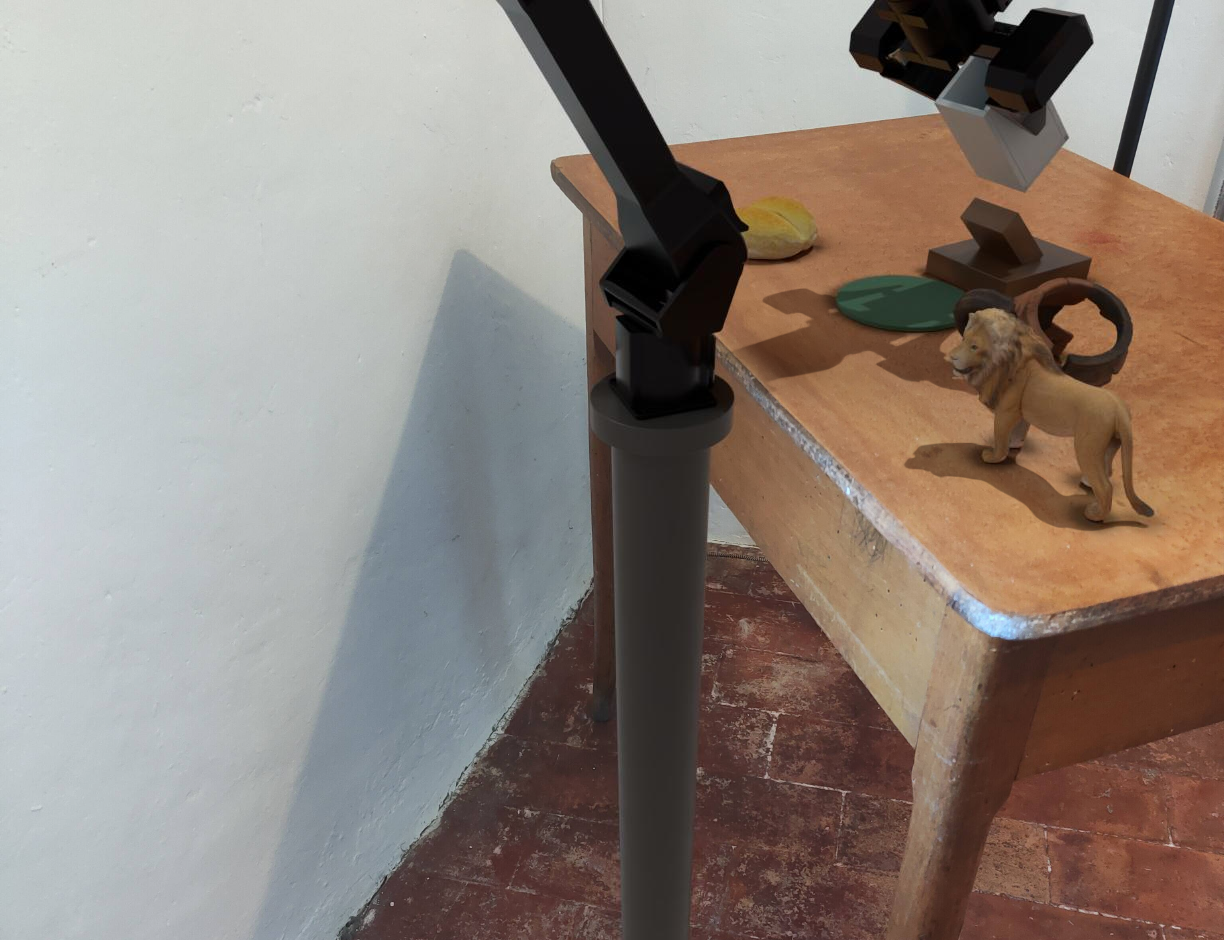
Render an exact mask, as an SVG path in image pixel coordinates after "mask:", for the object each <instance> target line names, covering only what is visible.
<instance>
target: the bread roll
mask: <svg viewBox="0 0 1224 940" xmlns="http://www.w3.org/2000/svg"><path fill="white" fill-rule="evenodd" d="M734 209H735V212H736V214H737V215H738V217H739V218H740V219H741V221H743V222H744V223H745V224H747V225H748V226H749V230H748V231H746V232H742V233H741V234H742V235H743V237H744V239H745V242H746V245H747V248H748V259H753V260H782V259H787V258H790V257H791V258H792V257H794V256H795V255H797V254H798V253H800V252H802V251H803V252H804V251H806V250H808V249H810V248H811V247H812V245H813V244H814V243H815V242H816V241H817V238H818V234H819V233H818V232H819V231H818V225H817V223H816V219H815V217H814V215H813V213H811V212H810V211H809V209H808V208H807V207H806V206H805V205H804V204H803V203H801V202H799V201H797V200H795V199H793V198H789V197H785V196H780V195H779V196H778V195H771V196H765V197H761V198H760V199H758V200H756V201H755V202H753V203H752V204H751V205H749V206H743V207H738V208H734Z"/></svg>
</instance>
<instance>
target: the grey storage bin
mask: <svg viewBox="0 0 1224 940" xmlns="http://www.w3.org/2000/svg"><path fill="white" fill-rule="evenodd" d="M990 62H991V61H990V60H986V59H982V58H977V57H973V56H970V58H969V59H968V60H967V62H966V63H965V64H964V65H962V66H960V67H959V68H960V70H959V71H958V72H957V73H956V75H955V76H954V77H953V79H952V80H951V81H950V83H949V84H948V85H947V86H946V88H945V89H944V90H943V92H942V93H941V94H940V95H939V97H938V98H937V99H936V101H933V105H934V106H935V107H936V109H937V111H938V112H939V114H940V116H941V117H942V119H943V121H944V122H945V124H946V126H947V128H948V130H949V131H950V133H951V134H952V136H953V138H954V140H955V142H956V143H957V145H958V146H959V148H960V150H961V152H962V153H963V155H964V157H965V158H966V160H967V161H968V164H969V165H970V167H971V168H972V170H973V172H974V173H975V175H976V177H977V178H980V179H983V180H986V181H989V182H992V183H995V184H998V185H1001V186H1004V187H1006V188H1010V189H1012V190H1016V191H1018V192H1021V193H1024V194H1026V192H1027V191H1028V190H1029V189H1030V187H1031V186H1032V185H1033V184H1034V183H1035V181H1037V179H1038V177H1039V176H1040V175H1041V174H1042V172H1043V171H1044V170H1045V169H1046V168H1047V166H1049V164H1050V163H1051V161H1052V160H1053V159H1054V158H1055V156H1056V155H1057V154H1058V153H1059V151H1060V150H1061V149H1062V147H1063V146H1064V145H1065V144H1066V143H1067V141H1068V140H1069V139H1070V136H1069V133H1068V132H1067V130H1066V127H1065V125H1064V123H1063V120H1062V119H1061V117H1060V115H1059V113H1058V110H1057V109H1056V106H1055V104H1054V102H1053V100H1052V97H1051V98H1050V99H1049V101H1048V102H1047V105H1046V125H1045V127H1044V128H1043V129H1042V131H1041V132H1040V133H1039V134H1038V135H1037V136H1034V135H1031V134H1030V133H1028V132H1026V131H1025V130H1023V129H1021V128H1020V127H1018V126H1017V125H1015V124H1014V123H1012V122H1011V121H1009V120H1008V119H1006V118H1005V117H1003V116H1002V115H1000V114H999V113H997V112H996V111H994V110H993V109H991V108H990V107H988V106H986V105H985V102H986V100H987V99H988V98H989V97H990V96H989V94H988V92H987V90H986V88H985V86H984V84H985V78H986V73H987V68H988V64H989V63H990Z"/></svg>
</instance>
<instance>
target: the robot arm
mask: <svg viewBox="0 0 1224 940" xmlns="http://www.w3.org/2000/svg"><path fill="white" fill-rule="evenodd" d="M495 1H496V3H497V4H499V6H500V8H502V10H503V11H504V13H505V15H506V16H507V18H508V19H509V21H510V23H511V25H512V26H513V29H514V30H515V31H516V33H517V35H518V36H519V38H520V39H521V41H522V44H524V46H525V47H526V49H527V51H528V53H529V54H530V56H531V57H532V59H533V61H534V62H535V64H536V66H537V68H538V70H539V71H540V72H541V74H542V76H543V77H544V79H545V81H546V82H547V85H548V86H549V87H550V89H551V91H552V92H553V94H554V96H555V97H556V99H557V101H558V102H559V104H560V106H561V107H562V109H563V110H564V112H565V114H566V116H567V117H568V119H569V120H570V122H571V124H572V125H573V127H574V129H575V130H576V132H577V134H578V135H579V137H580V139H581V141H582V142H583V144H584V146H586V148H587V150H588V152H589V153H590V155H591V156H592V158H593V160H594V162H595V163H596V165H597V167H598V169H599V170H600V172H601V173H602V175H603V177H604V178H605V180H606V182H607V183H608V185H609V187H610V188H611V190H612V191H613V194H614V197H615V201H616V212H617V213H616V214H617V226H618V229H619V232H620V235H621V238H622V240H623V242H624V245H623V247H622V248H621V250H620V251H619V253H618V254H617V256H616V257H615V258H614V259H613V261H612V262H611V263H610V265H609V266H608V268H607V269H606V270H605V272H604V273H603V275H602V276H601V278H599V281H598V286H599V288H600V291H601V293H602V297H603V299H604V301H605V303H606V304H605V305H607V306H608V307H610V308H613V309H615V310H617V311H618V312H620V313H621V314H618V315H615V316H614V327H615V328H614V329H615V333H614V334H615V371H616V377H615V378H611V379H609V387H610V388H611V390H612V391H613V392H614V393H615V395H616V396H617V397H618V398H619V400H620V401H621V402H622V403H623V405H624V406H625V407H626V408H627V410H628V411H629V412H630V413H631V415H632V416H633V417H634V418H635V419H636V420H648V419H653V418H658V417H663V416H669V415H674V414H679V413H684V412H690V411H695V410H700V409H705V408H711V407H715V406H716V405H717V398H716V397H715V396H714V395H713V394H712V393H711V392H710V391H709V389H711V388H713V386H714V375H715V374H716V372H715V371H716V353H717V352H716V351H717V350H716V349H717V337H716V336H715V335H714V334H717V333H720V332H722V331H723V329H724V326H725V323H726V320H727V317H728V314H729V312H730V308H731V305H732V303H733V300H734V297H735V294H736V290H737V288H738V285H739V282H740V280H741V277H742V275H743V271H744V268H745V264H746V263H747V262H748V261H749V258H748V248H747V245H746V242H745V239H744V237H743V235H742V234H741V233H742V232H746V231H748V230H749V226H748V225H747V224H745V223H744V222H743V221H741V219H740V218H739V217H738V215H737V214H736V212H735V209H736V208H735V207H734V204H733V200H732V197H731V194H730V191H729V188H728V187H727V186H726V184H725V182H724V181H723V180H721V179H719V178H716V177H714V176H712V175H710V174H708V173H705V172H703V171H701V170H698V169H696V168H694V167H692V166H690V165H687V164H685V163H682V162H680V161H678V160H676V158H675V156H674V154H673V152H672V151H671V149H670V147H669V145H668V143H667V142H666V141H667V140H666V139H665V138H664V136H663V134H662V132H661V130H660V128H659V126H658V125H657V123H656V121H655V119H654V117H653V115H652V113H651V110H649V108H648V106H647V104H646V102H645V100H644V99H643V96H642V94H641V93H640V91H639V89H638V87H637V85H636V83H635V82H634V79H633V78H632V76H631V74H630V72H629V71H628V69H627V67H626V65H625V63H624V61H623V59H622V58H621V56H620V54H619V52H618V50H617V48H616V47H615V44H614V42H613V41H612V39H611V37H610V35H609V33H608V31H607V29H606V28H605V26H604V24H603V22H602V20H601V18H600V16H599V14H598V12H597V11H596V9H595V7H594V6H593V4H592V2H591V0H495ZM1013 1H1014V0H874V1H873V2H872V4H871V5H870V6H869V7H868V9H867V10H866V12H865V13H864V14H863V15H862V17H861V18H860V19H859V21H858V22H857V24H856V25H855V26H854V27H853V29H852V30H851V32H850V38H849V47H848V53H849V54H850V55H851V57H852V59H853V60H854V61H855V63H856V65H857V66H858V68H860V69H864V70H868V71H871V72H874V73H878V74H879V75H880V77H882V78H884V79H887V80H888V81H891V82H893V83H895V84H897V85H899V86H902V87H903V88H906V89H908V90H909V91H912V92H914V93H917V94H918V95H920V96H923V97H924V98H927V99H929V100H931V101H933V102H935V101H936V99H937V98H938V97H939V95H940V94H941V93H942V92H943V90H944V89H945V88H946V86H947V85H948V84H949V83H950V81H951V80H952V79H953V77H954V76H955V75H956V73H957V72H958V71H959V70H960V68H961V67H962V66H963V65H964V64H965V63H966V62H967V60H968V59H969V58H970V56H973V57H977V58H982V59H986V60H990V61H991V62H990V63H989V64H988V68H987V73H986V78H985V84H984V86H985V88H986V90H987V92H988V94H989V96H990V97H989V98H988V99H987V100H986V102H985V105H986V106H988V107H990V108H991V109H993V110H994V111H996V112H997V113H999V114H1000V115H1002V116H1003V117H1005V118H1006V119H1008V120H1009V121H1011V122H1012V123H1014V124H1015V125H1017V126H1018V127H1020V128H1021V129H1023V130H1025V131H1026V132H1028V133H1030V134H1031V135H1034V136H1037V135H1038V134H1039V133H1040V132H1041V131H1042V129H1043V128H1044V127H1045V125H1046V105H1047V102H1048V101H1049V99H1050V98H1051V99H1052V97H1053V96H1054V95H1055V94H1056V92H1057V91H1058V90H1059V88H1060V87H1061V86H1062V85H1063V83H1064V82H1065V80H1066V79H1067V78H1068V76H1069V75H1070V74H1071V73H1072V72H1073V70H1074V69H1075V68H1076V67H1077V65H1078V64H1079V63H1080V62H1081V61H1082V59H1083V58H1084V56H1085V55H1086V54H1087V53H1088V51H1089V50H1090V49H1091V47H1092V46H1093V45H1094V43H1095V42H1094V35H1093V32H1092V29H1091V26H1090V25H1089V22H1088V20H1087V18H1086V15H1085V13H1079V12H1073V11H1067V10H1061V9H1056V8H1052V7H1051V8H1050V7H1045V6H1044V7H1036V8H1031V9H1030V10H1029V11H1028V12H1027V14H1026V15H1025V16H1024V18H1023V19H1022V20H1021V22H1020V23H1019V24H1013V23H1006V22H1002V21H998V20H996V18H995V16H996V15H997V14H998V13H1004V12H1005V11H1006V10H1007V9H1008V8H1009V6H1010V5H1011V4H1012V2H1013Z"/></svg>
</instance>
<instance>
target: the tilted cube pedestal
mask: <svg viewBox="0 0 1224 940" xmlns="http://www.w3.org/2000/svg"><path fill="white" fill-rule="evenodd" d="M959 218H960V220H961V222H962V223H963V225H964V226H965V228H966V229H967V231H968V232H969V233H970V235H971V237H972V238H969V239H965V240H961V241H956V242H953V243H948V244H945V245H941V246H937V247H933V248H929V249H928V253H927V258H926V265H925V271H924V272H925V273H927V274H929V275H932V276H934V277H936V278H938V279H941V280H943V281H944V282H948V283H950V284H952V285H953V286H955V287H956V286H957V287H959V288H960V289H963V290H965V291H967V292H969V291H971V290H975V289H980V288H983V289H991V290H995V291H997V292H999V293H1001V294H1003V295H1005V296H1008V297H1012V298H1014V297H1016V296H1020V295H1022V294H1024V293H1026V292H1028V291H1031V290H1033V289H1036V288H1038V287H1039V286H1040V285H1042V284H1043V283H1045V282H1047V281H1050V280H1054V279H1057V278H1064V279H1065V278H1078V279H1083V280H1086V281H1088V276H1089V272H1090V269H1091V265H1092V261H1093V258H1092V257H1090V256H1087V255H1084V254H1081V253H1079V252H1076V251H1074V250H1071V249H1069V248H1065V247H1063V246H1060V245H1058V244H1055V243H1052V242H1050V241H1047V240H1044V239H1041V238H1039V237H1036V236H1034V235H1032V233H1031V231H1030V229H1029V227H1028V226H1027V225H1026V222H1025V221H1024V219H1023V218H1022V216H1021V214H1020V213H1019V212H1018V211H1015V210H1012V209H1009V208H1007V207H1004V206H1002V205H1001V206H1000V205H998V204H995V203H992V202H990V201H987V200H984V199H981V198H978V197H976V196H975V197H974V198H973V199H972V201H971V202H970V203H969V205H968V206H967V207H966V208H965V210H964V211H963V212H962V213H961V215H960V216H959Z"/></svg>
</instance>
